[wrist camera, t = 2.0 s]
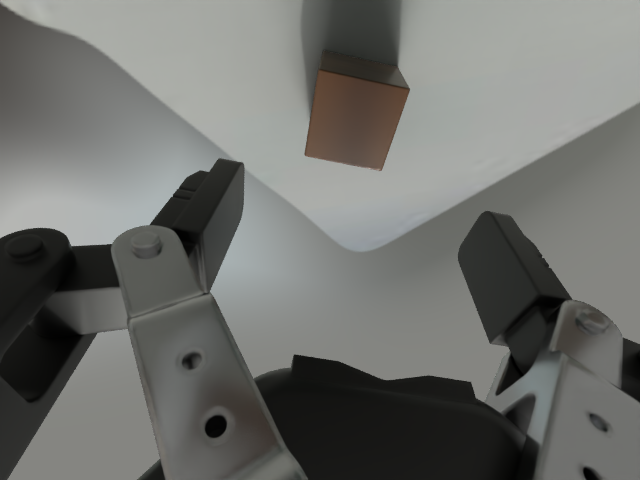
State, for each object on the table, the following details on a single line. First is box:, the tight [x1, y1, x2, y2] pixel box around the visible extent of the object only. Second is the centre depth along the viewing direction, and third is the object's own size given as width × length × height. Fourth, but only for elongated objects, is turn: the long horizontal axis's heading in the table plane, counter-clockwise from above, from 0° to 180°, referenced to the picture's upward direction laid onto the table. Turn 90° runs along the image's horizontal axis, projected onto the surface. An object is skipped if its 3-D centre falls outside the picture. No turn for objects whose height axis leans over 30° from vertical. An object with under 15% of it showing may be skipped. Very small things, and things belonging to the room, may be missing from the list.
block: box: [305, 51, 410, 171], centre depth 18 cm, size 5×5×5 cm
